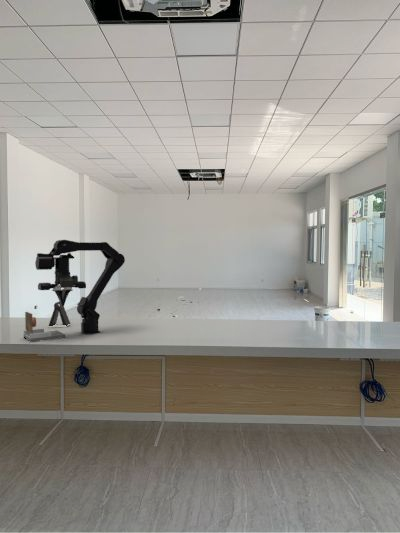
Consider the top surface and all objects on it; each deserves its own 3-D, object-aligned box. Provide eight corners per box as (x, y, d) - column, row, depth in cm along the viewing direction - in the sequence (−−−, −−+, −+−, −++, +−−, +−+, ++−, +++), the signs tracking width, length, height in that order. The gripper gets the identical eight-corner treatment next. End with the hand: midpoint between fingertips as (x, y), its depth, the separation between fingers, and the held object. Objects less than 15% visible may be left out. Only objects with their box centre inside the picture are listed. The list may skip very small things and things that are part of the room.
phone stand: (70, 325, 195) (70, 300, 195) (67, 327, 189) (66, 302, 189) (52, 325, 195) (51, 301, 194) (48, 327, 189) (47, 302, 188)
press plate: (32, 328, 168) (32, 311, 168) (37, 331, 162) (37, 313, 162) (25, 329, 167) (25, 311, 166) (30, 332, 160) (30, 314, 160)
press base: (57, 333, 176) (57, 326, 176) (65, 337, 167) (65, 330, 167) (23, 337, 168) (23, 330, 168) (30, 342, 159) (30, 334, 159)
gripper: (44, 270, 157) (44, 309, 157) (90, 269, 167) (90, 306, 168) (37, 269, 166) (37, 306, 166) (81, 268, 176) (81, 303, 177)
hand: (62, 305), depth 169 cm, fingers closed
